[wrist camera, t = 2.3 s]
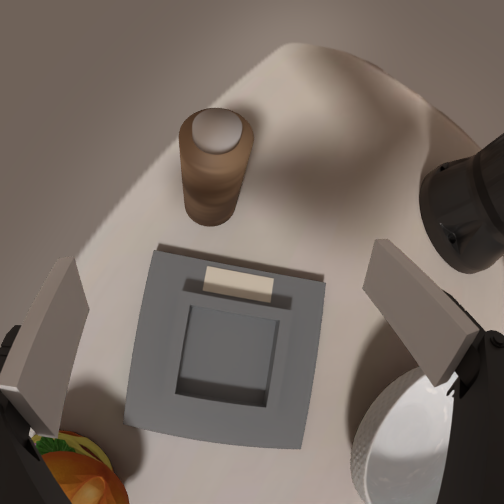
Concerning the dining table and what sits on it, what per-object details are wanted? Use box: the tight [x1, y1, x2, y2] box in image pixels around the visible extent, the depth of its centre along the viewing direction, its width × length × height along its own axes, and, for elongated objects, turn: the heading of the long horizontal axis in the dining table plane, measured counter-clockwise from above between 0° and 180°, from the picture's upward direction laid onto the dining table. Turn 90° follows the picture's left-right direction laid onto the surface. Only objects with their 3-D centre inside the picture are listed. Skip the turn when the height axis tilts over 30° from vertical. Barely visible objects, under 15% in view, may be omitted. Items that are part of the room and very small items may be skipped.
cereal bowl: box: [350, 366, 458, 504], centre depth 23 cm, size 17×17×7 cm
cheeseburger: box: [31, 430, 129, 504], centre depth 17 cm, size 10×11×10 cm
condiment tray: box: [123, 250, 326, 449], centre depth 25 cm, size 16×16×2 cm
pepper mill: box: [179, 108, 254, 226], centre depth 24 cm, size 5×5×12 cm
